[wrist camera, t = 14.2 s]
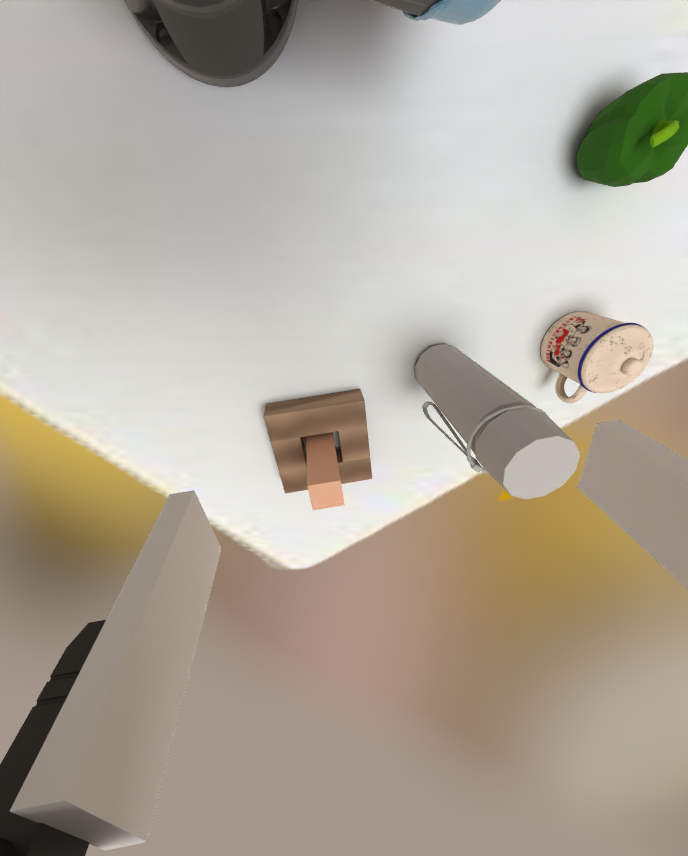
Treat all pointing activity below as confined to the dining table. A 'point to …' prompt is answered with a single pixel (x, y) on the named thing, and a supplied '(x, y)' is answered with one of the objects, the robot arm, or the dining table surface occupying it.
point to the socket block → (314, 418)
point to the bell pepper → (638, 133)
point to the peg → (323, 472)
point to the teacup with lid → (595, 353)
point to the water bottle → (496, 424)
